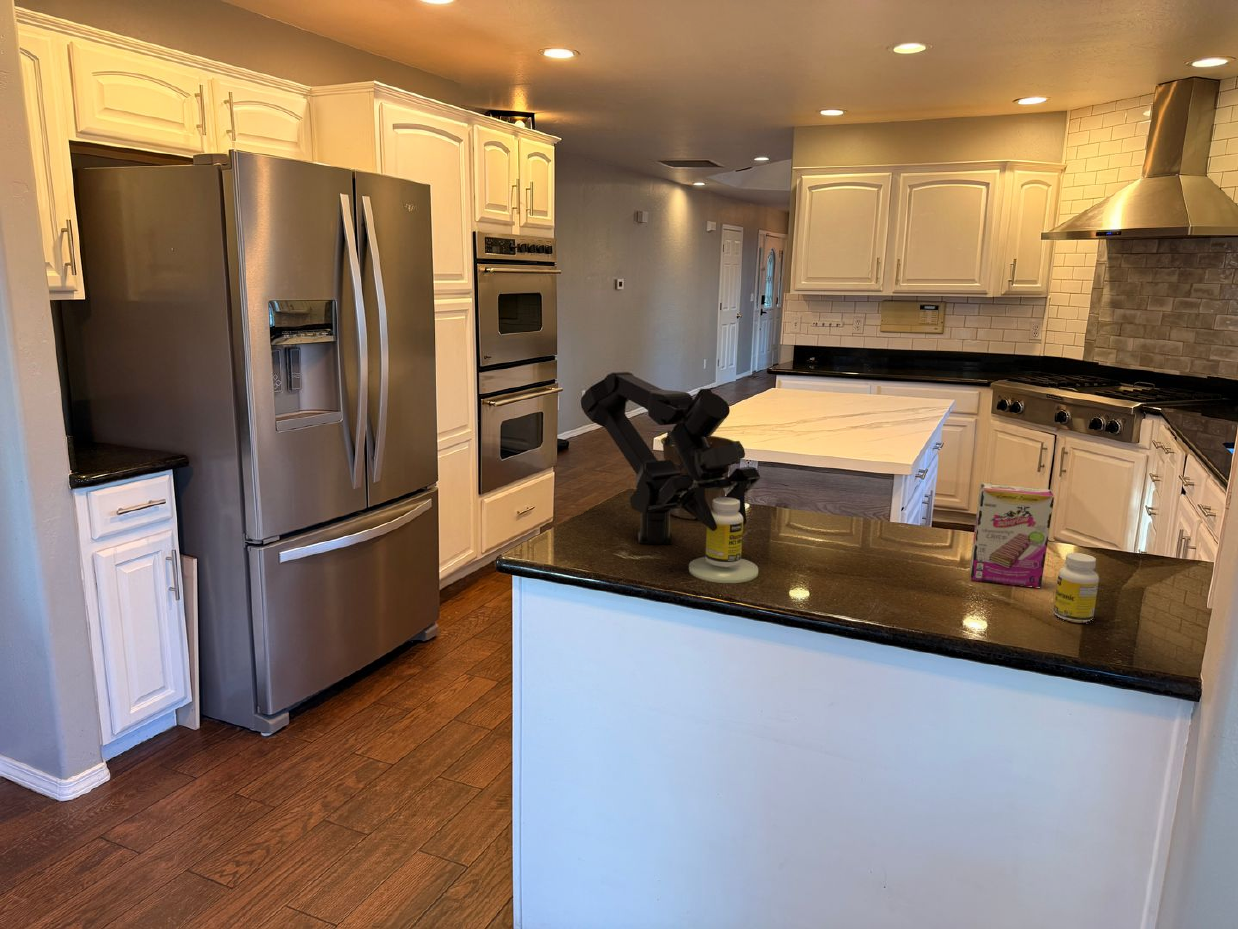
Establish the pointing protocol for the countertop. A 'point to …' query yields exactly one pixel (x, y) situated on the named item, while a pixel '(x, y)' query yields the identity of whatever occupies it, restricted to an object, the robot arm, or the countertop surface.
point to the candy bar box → (1011, 534)
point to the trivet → (723, 571)
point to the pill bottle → (725, 533)
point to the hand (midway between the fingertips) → (729, 527)
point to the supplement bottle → (1076, 588)
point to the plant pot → (672, 455)
